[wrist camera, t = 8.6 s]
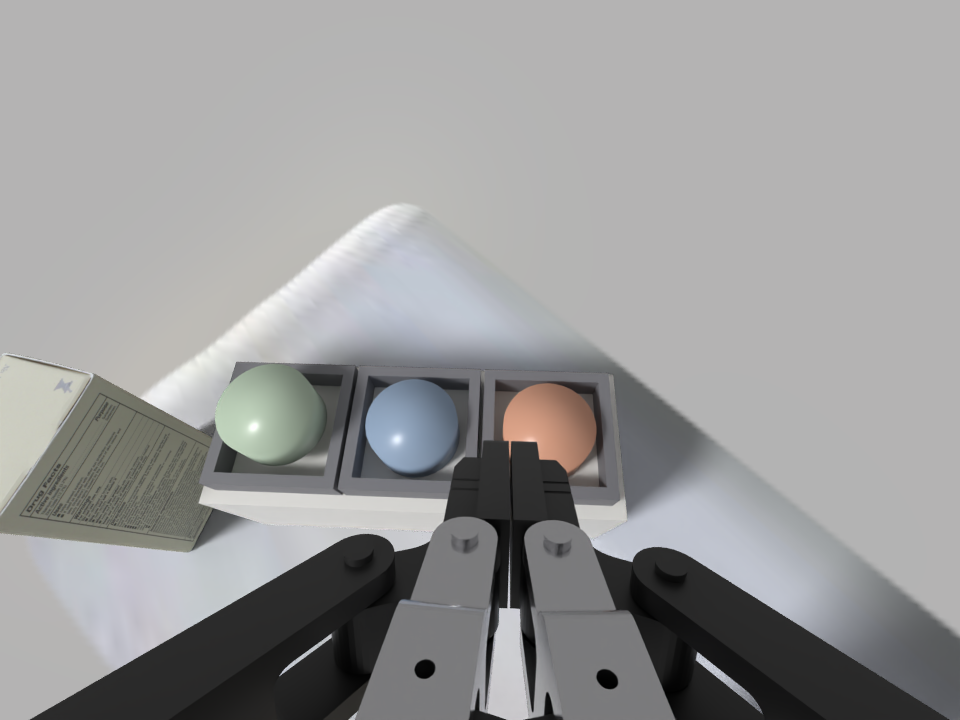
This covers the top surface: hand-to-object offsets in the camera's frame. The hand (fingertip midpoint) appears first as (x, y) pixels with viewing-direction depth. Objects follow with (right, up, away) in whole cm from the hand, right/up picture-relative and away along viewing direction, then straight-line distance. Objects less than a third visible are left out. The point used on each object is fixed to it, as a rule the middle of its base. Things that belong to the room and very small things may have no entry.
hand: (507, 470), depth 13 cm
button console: (-4, -4, +15) cm, 16 cm away
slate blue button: (-4, 0, +9) cm, 10 cm away
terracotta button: (+2, -1, +9) cm, 9 cm away
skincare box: (-18, -5, +15) cm, 24 cm away
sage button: (-10, 0, +8) cm, 13 cm away
